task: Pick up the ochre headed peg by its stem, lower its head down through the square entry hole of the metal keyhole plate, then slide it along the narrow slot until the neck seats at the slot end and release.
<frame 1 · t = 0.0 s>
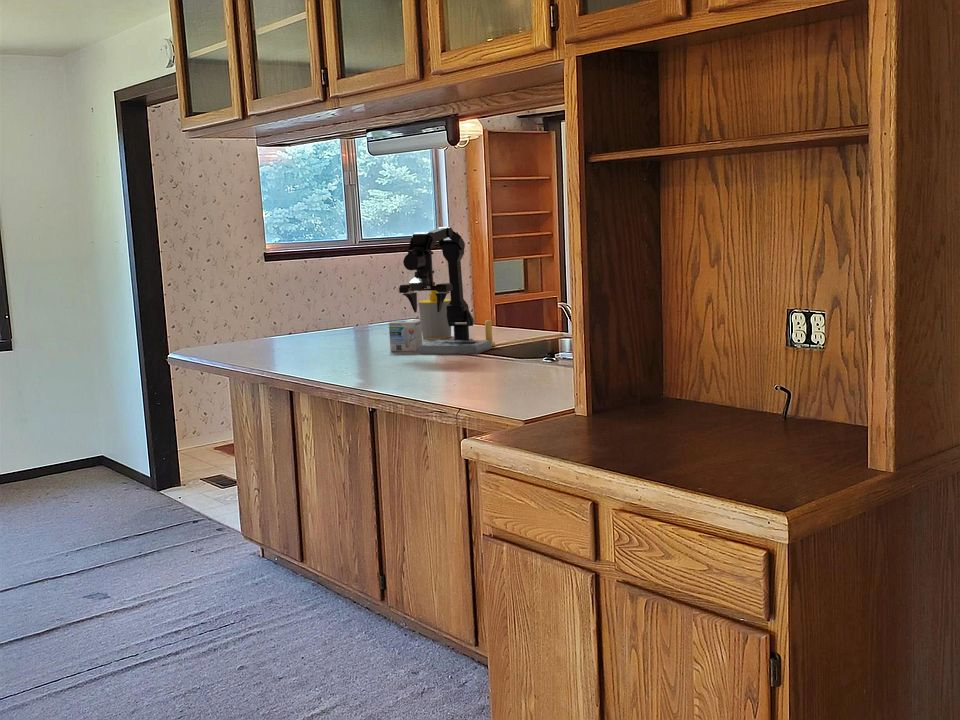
hand: (427, 312, 336), 15 cm above the counter, fingers open, 9 cm apart
keyhole plate: (456, 351, 340), on the counter
headed peg: (489, 346, 348), on the counter
light bulb box: (406, 350, 350), on the counter
soap bottle: (436, 337, 383), on the counter
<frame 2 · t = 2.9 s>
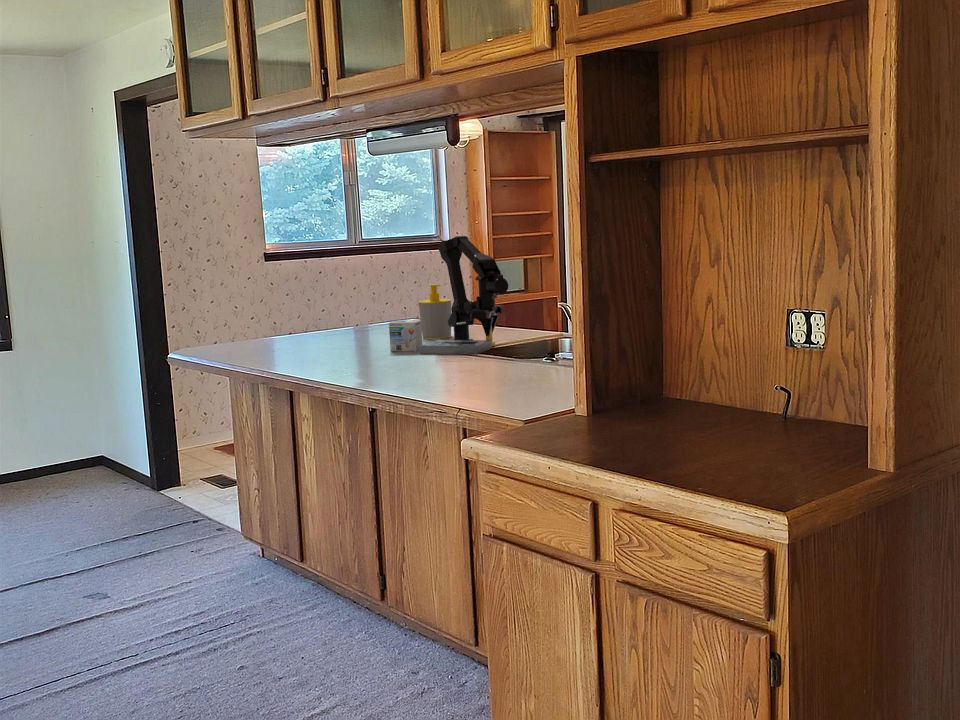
hand: (488, 335, 347), 4 cm above the counter, fingers closed on headed peg, 2 cm apart
headed peg: (489, 346, 348), on the counter, touching gripper
everything else where it was.
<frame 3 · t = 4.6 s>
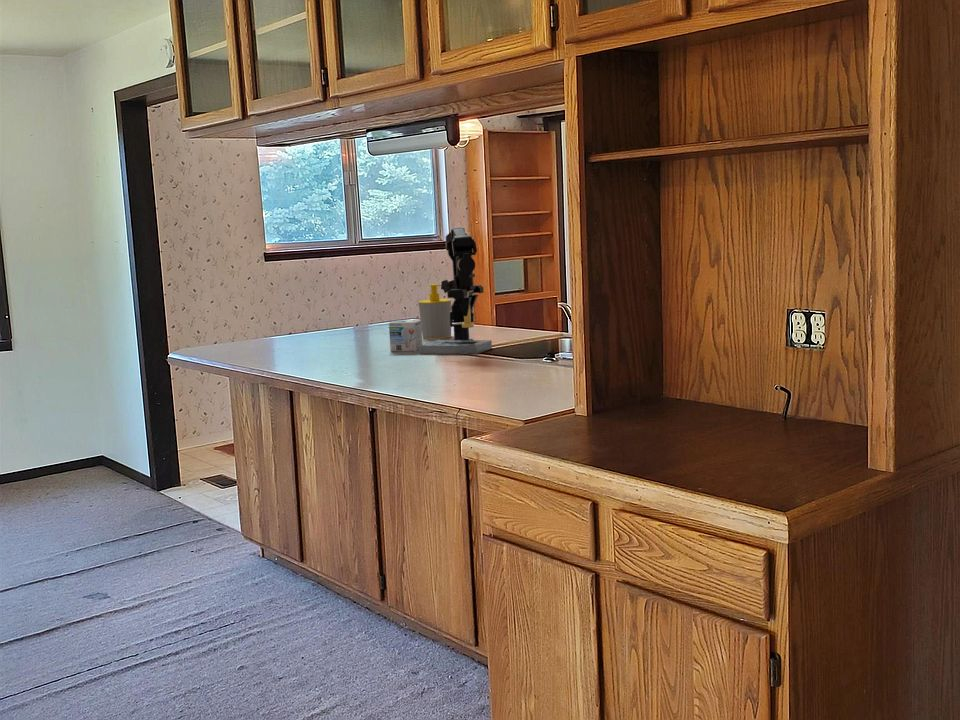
hand: (467, 315, 336), 13 cm above the counter, fingers closed on headed peg, 2 cm apart
headed peg: (467, 327, 337), point 9 cm above the counter, touching gripper
everything else where it was.
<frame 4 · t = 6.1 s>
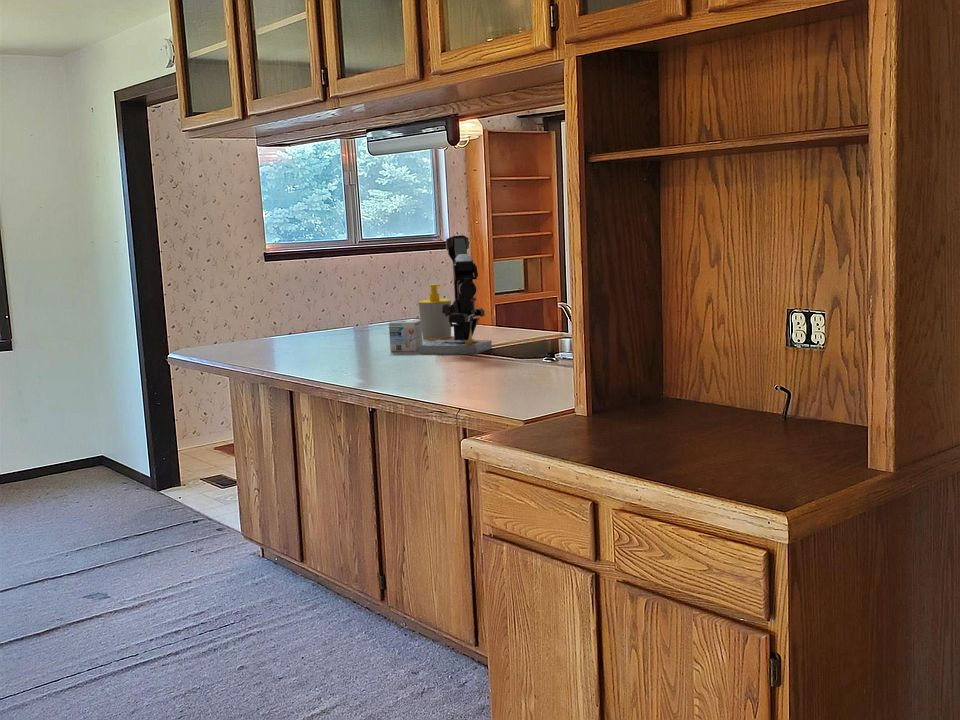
hand: (468, 339, 337), 4 cm above the counter, fingers closed on headed peg, 2 cm apart
headed peg: (469, 350, 338), resting in keyhole plate, touching gripper
everything else where it was.
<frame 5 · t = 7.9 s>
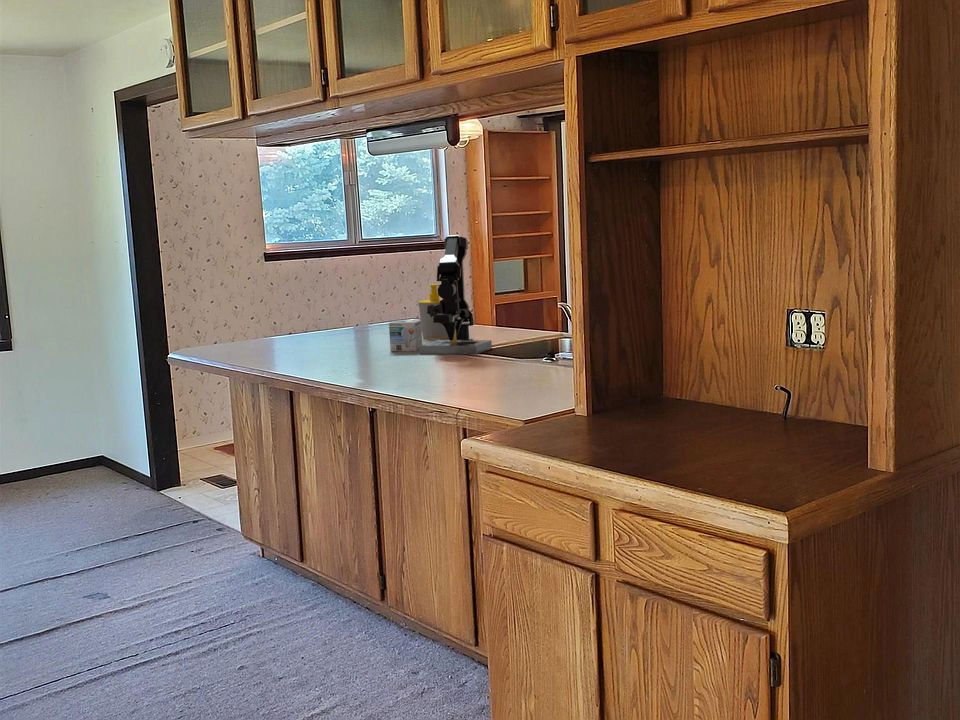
hand: (452, 339, 340), 4 cm above the counter, fingers closed on headed peg, 2 cm apart
headed peg: (453, 350, 340), resting in keyhole plate, touching gripper
everything else where it was.
when the fingers open (4 cm above the counter, at t = 9.6 s): headed peg stays where it is, resting in keyhole plate.
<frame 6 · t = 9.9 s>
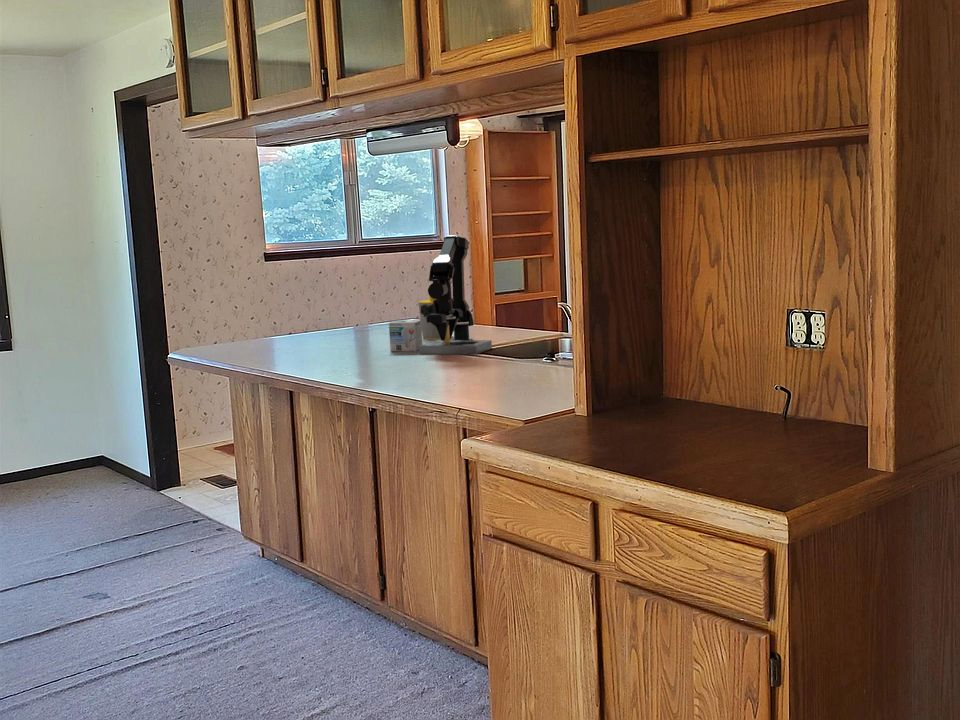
hand: (446, 339, 341), 4 cm above the counter, fingers open, 5 cm apart
headed peg: (447, 351, 341), resting in keyhole plate
everything else where it was.
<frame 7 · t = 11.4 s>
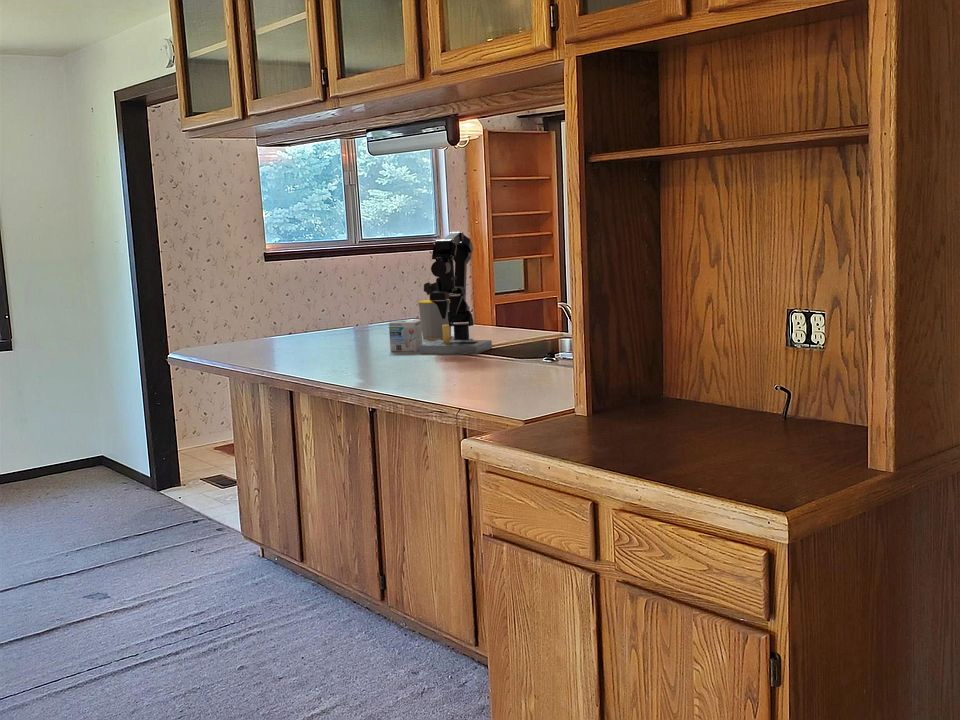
hand: (449, 316, 346), 12 cm above the counter, fingers open, 9 cm apart
nothing on the counter moved.
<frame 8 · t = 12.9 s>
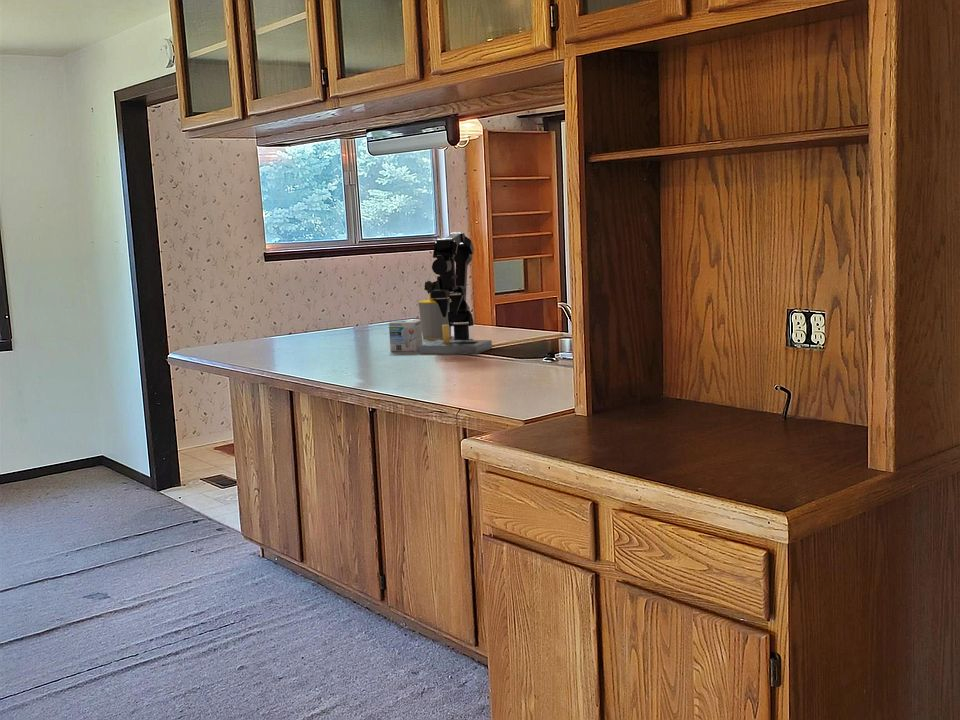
hand: (449, 315, 347), 12 cm above the counter, fingers open, 9 cm apart
nothing on the counter moved.
at the end: headed peg 0.1 cm from the target spot on the keyhole plate, point 0.0 cm above the keyhole plate's base; headed peg tilted 0°; the gripper is holding nothing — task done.
